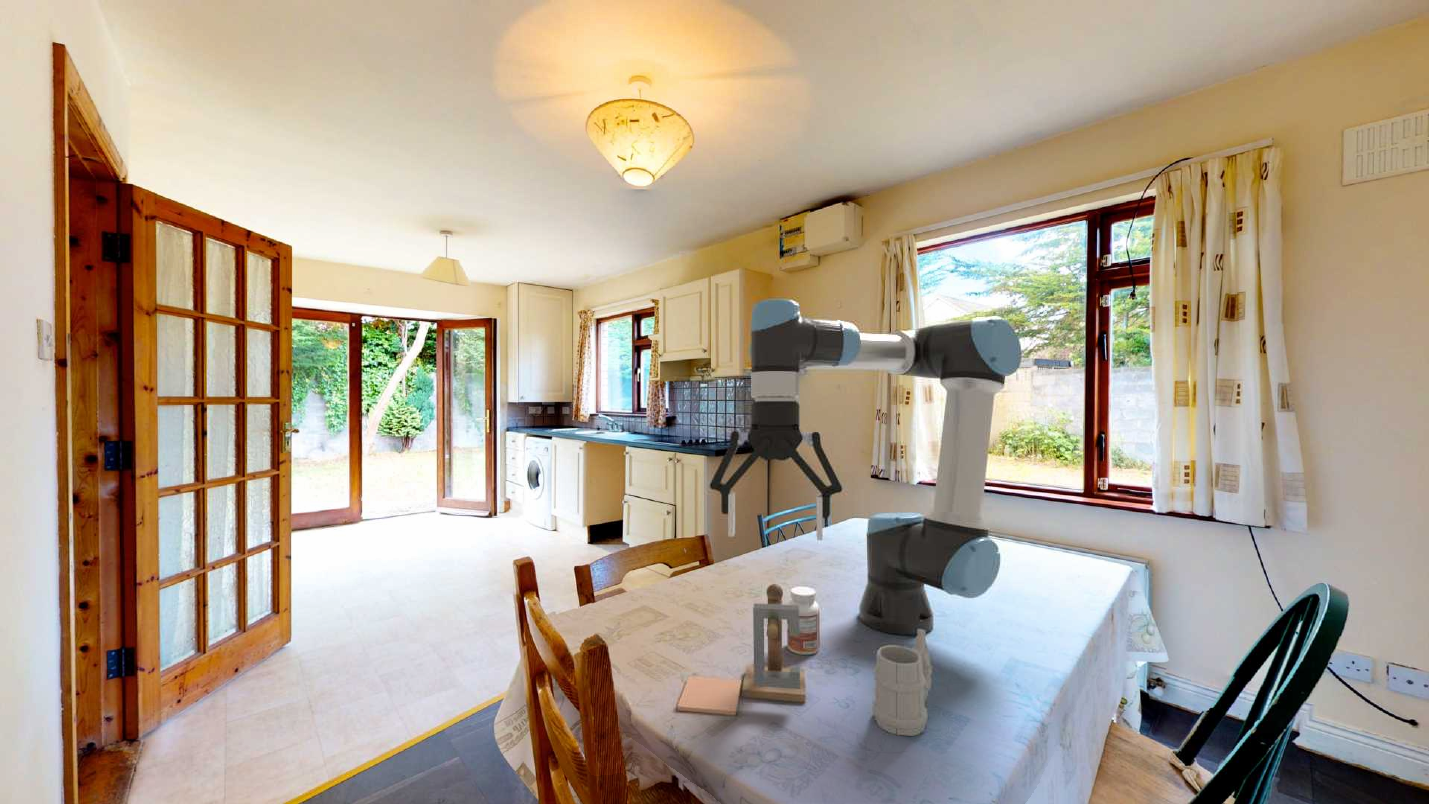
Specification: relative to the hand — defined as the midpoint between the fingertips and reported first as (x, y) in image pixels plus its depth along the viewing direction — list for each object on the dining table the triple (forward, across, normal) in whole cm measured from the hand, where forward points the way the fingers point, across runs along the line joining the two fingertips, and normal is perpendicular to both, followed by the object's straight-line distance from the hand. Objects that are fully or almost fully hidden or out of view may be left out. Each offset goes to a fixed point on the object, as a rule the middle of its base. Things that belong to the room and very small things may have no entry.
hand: (775, 536), depth 81 cm
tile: (+26, +10, -1) cm, 28 cm away
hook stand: (+26, 0, -2) cm, 26 cm away
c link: (+23, 0, 0) cm, 23 cm away
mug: (+26, -20, 0) cm, 33 cm away
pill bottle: (+26, -5, -20) cm, 34 cm away
